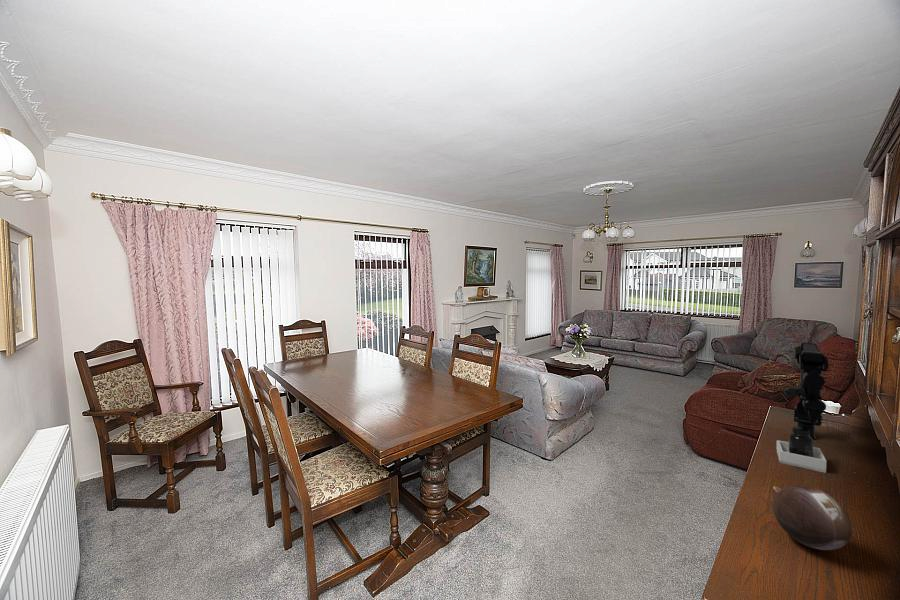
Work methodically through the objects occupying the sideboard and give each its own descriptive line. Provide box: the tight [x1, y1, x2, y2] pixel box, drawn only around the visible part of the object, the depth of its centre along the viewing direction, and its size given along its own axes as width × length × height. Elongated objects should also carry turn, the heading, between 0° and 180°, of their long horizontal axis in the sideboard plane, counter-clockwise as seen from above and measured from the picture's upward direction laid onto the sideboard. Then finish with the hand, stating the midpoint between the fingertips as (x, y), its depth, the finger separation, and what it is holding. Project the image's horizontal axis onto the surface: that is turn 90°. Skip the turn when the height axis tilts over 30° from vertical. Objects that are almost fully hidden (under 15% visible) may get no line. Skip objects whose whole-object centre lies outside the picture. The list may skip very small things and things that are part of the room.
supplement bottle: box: [788, 425, 814, 457], centre depth 141 cm, size 7×7×12 cm
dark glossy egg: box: [772, 484, 853, 551], centre depth 97 cm, size 15×15×15 cm
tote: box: [776, 440, 827, 474], centre depth 141 cm, size 13×13×4 cm
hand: (810, 419), depth 150 cm, fingers open, 9 cm apart
